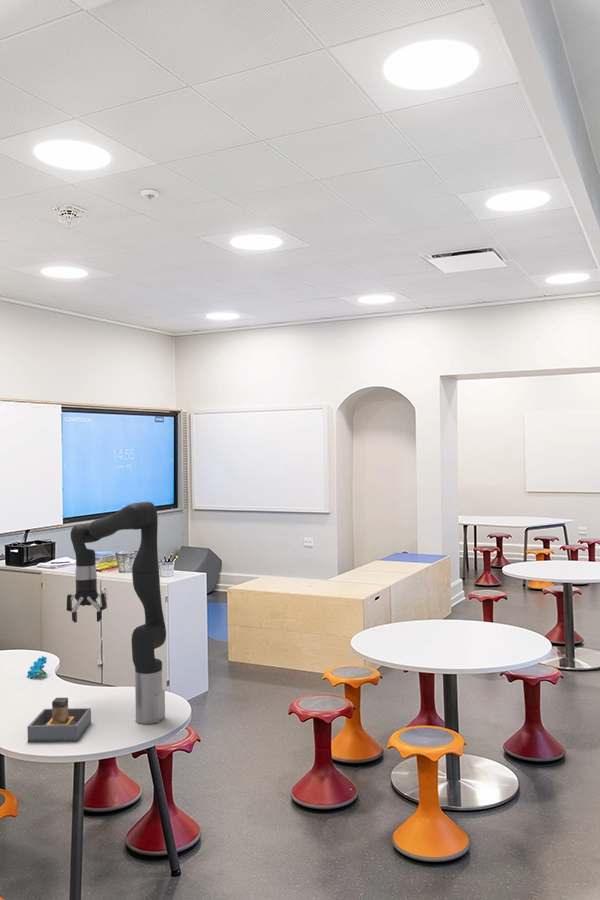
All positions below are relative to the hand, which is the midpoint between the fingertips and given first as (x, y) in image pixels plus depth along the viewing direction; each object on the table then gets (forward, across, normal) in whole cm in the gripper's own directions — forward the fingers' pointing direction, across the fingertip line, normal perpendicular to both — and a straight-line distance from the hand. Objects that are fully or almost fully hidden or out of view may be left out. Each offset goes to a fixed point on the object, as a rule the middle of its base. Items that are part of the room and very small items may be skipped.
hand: (87, 621), depth 274 cm
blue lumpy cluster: (+27, -30, +34) cm, 53 cm away
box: (+32, -3, -26) cm, 41 cm away
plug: (+31, -2, -26) cm, 41 cm away
